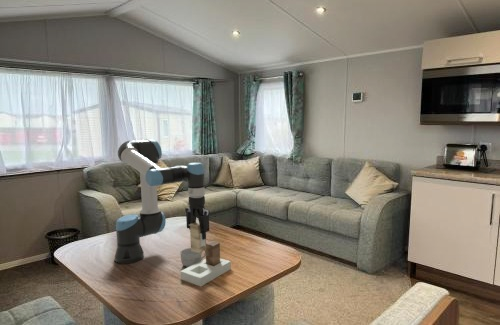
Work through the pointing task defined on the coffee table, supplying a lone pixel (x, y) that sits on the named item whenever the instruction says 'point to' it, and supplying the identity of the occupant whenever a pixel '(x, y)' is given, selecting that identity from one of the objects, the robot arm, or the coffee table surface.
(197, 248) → the pin
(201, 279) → the bore block
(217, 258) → the walnut pin
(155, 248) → the coffee table surface
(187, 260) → the teacup
